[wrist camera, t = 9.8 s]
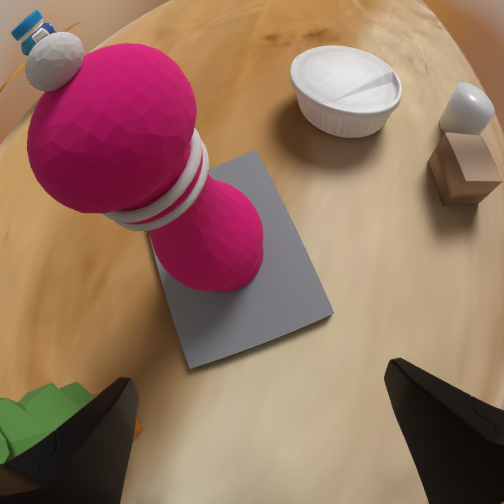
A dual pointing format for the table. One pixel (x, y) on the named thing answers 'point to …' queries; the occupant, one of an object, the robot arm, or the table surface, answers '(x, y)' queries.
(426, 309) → the table surface
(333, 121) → the ramekin
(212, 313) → the slate board
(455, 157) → the walnut block
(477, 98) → the grey canister
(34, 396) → the decorative tree
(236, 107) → the table surface
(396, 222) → the table surface
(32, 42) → the beverage bottle
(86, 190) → the pepper mill
